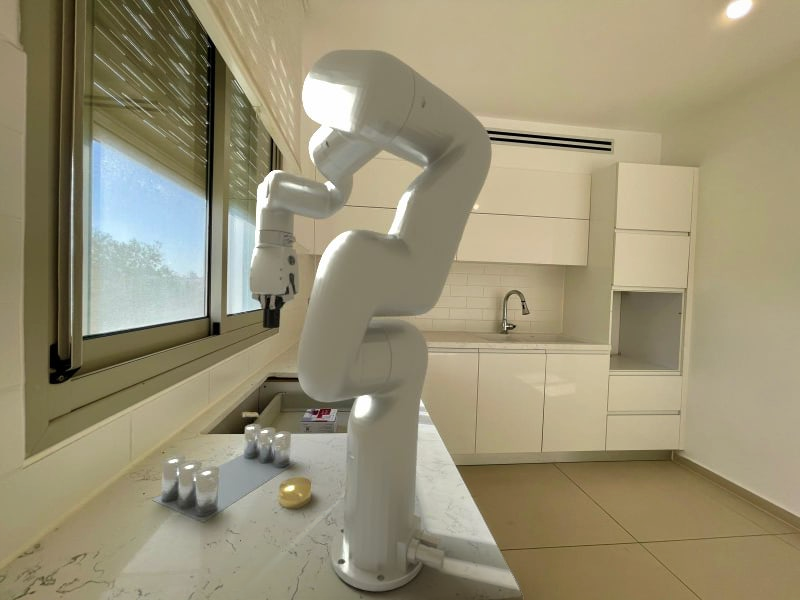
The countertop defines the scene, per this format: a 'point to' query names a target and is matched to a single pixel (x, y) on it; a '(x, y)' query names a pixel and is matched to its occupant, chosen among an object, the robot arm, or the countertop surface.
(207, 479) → the steel spacers
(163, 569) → the countertop surface
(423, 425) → the countertop surface
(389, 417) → the robot arm
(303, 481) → the gold rounded lump
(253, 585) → the countertop surface
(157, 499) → the plate
